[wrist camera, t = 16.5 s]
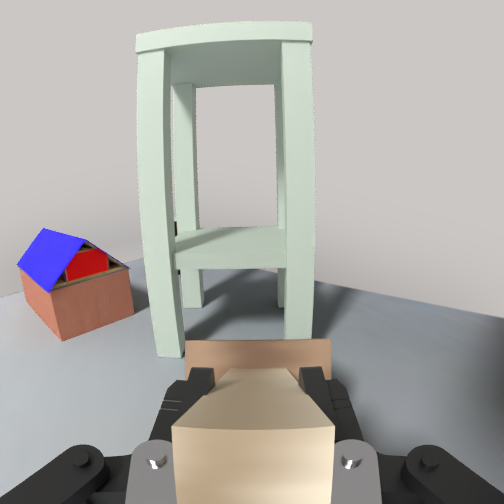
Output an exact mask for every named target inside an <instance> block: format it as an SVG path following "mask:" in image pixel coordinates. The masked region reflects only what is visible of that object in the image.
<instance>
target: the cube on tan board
mask: <svg viewBox="0 0 504 504" xmlns="http://www.w3.org/2000/svg"><path fill="white" fill-rule="evenodd" d="M315 366H321V367H322V370H323V373H324V377H325V380H331V339H282V340H185V381H187V380H188V377H189V373H190V370H191V368H192V367H207V368H213V369H214V375H215V386H214V388H213V389H212V390H211V391H210V392H209V393H208V394H207V395H203V396H202V397H201V398H200V399H199V400H198V401H197V402H196V403H195V404H194V405H193V406H192V407H191V408H190V409H189V410H188V411H187V412H186V413H185V414H184V415H183V416H182V417H181V418H179V419H178V420H177V421H176V422H175V423H174V424H173V425H172V426H171V427H172V446H173V461H174V475H175V486H176V497H177V504H330V503H331V491H332V477H333V460H334V439H335V425H334V424H333V423H332V422H331V421H330V420H329V418H328V417H327V416H326V415H325V414H324V413H323V411H322V410H321V409H320V408H319V407H318V406H317V404H316V403H315V402H314V401H313V400H312V398H311V397H310V396H309V395H306V394H305V393H304V391H303V390H302V389H301V388H300V387H299V385H298V379H299V369H300V367H315Z"/></svg>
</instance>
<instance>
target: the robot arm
mask: <svg viewBox="0 0 504 504" xmlns="http://www.w3.org/2000/svg"><path fill="white" fill-rule="evenodd" d="M298 385H299V387H300V388H301V389H302V390H303V391H304V393H305V394H306V395H309V396H310V397H311V398H312V400H313V401H314V402H315V403H316V404H317V406H318V407H319V408H320V409H321V410H322V411H323V413H324V414H325V415H326V416H327V417H328V418H329V420H330V421H331V422H332V423H333V424H334V425H335V439H334V460H333V477H332V491H331V503H330V504H504V494H503V493H502V492H501V491H499V490H498V489H496V488H495V487H494V486H492V485H491V484H489V483H488V482H487V481H485V480H484V479H483V478H481V477H480V476H479V475H477V474H476V473H475V472H473V471H472V470H470V469H469V468H468V467H466V466H465V465H464V464H462V463H461V462H460V461H458V460H457V459H456V458H454V457H453V456H452V455H451V454H449V453H448V452H447V451H445V450H444V449H442V448H440V447H438V446H434V445H422V446H418V447H416V448H414V449H413V450H412V451H410V453H409V454H408V456H407V457H406V456H390V455H383V454H380V453H377V452H376V451H375V450H374V448H373V447H372V446H371V445H369V444H368V443H366V442H364V439H363V437H362V434H361V431H360V428H359V425H358V422H357V419H356V416H355V413H354V410H353V409H352V405H351V402H350V400H349V396H348V393H347V390H346V388H345V387H344V386H343V385H342V384H341V383H340V382H339V381H338V380H337V379H332V380H325V377H324V373H323V370H322V367H321V366H315V367H300V369H299V379H298ZM214 386H215V375H214V369H213V368H207V367H192V368H191V370H190V373H189V377H188V380H187V381H183V380H176V381H175V382H174V383H173V384H172V385H171V386H170V387H169V388H168V389H167V392H166V394H165V397H164V401H163V402H162V405H161V410H159V413H158V416H157V419H156V421H155V424H154V427H153V430H152V432H151V435H150V438H149V440H148V441H146V442H144V443H142V444H140V445H139V446H137V447H136V448H135V450H134V451H133V453H132V454H130V455H125V456H113V457H104V456H103V454H102V453H101V452H100V450H98V449H97V448H95V447H93V446H90V445H76V446H73V447H71V448H69V449H67V450H66V451H64V452H63V453H62V454H60V455H59V456H58V457H56V458H55V459H54V460H52V461H51V462H49V463H48V464H47V465H45V466H44V467H43V468H41V469H40V470H38V471H37V472H36V473H34V474H33V475H32V476H30V477H29V478H27V479H26V480H25V481H23V482H22V483H20V484H19V485H17V486H16V487H15V488H13V489H12V490H10V491H9V492H7V493H6V494H5V495H3V496H2V497H0V504H177V497H176V486H175V475H174V461H173V446H172V427H171V426H172V425H173V424H174V423H175V422H176V421H177V420H178V419H179V418H181V417H182V416H183V415H184V414H185V413H186V412H187V411H188V410H189V409H190V408H191V407H192V406H193V405H194V404H195V403H196V402H197V401H198V400H199V399H200V398H201V397H202V396H203V395H207V394H208V393H209V392H210V391H211V390H212V389H213V388H214Z"/></svg>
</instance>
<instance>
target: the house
mask: <svg viewBox="0 0 504 504" xmlns="http://www.w3.org/2000/svg"><path fill="white" fill-rule="evenodd" d="M17 265H18V267H19V268H20V273H21V278H22V283H23V287H24V292H25V297H26V301H27V302H28V304H29V305H30V306H31V307H32V308H33V310H34V311H35V312H36V313H37V314H38V315H39V317H40V318H41V319H42V320H43V321H44V322H45V323H46V325H47V326H48V327H49V328H50V329H51V330H52V331H53V332H54V334H55V335H56V336H57V337H58V338H59V339H60V340H61V341H65V340H68V339H70V338H73V337H76V336H78V335H81V334H84V333H86V332H89V331H92V330H94V329H97V328H100V327H102V326H105V325H108V324H110V323H113V322H116V321H118V320H121V319H124V318H126V317H129V316H132V315H134V307H133V301H132V294H131V287H130V280H129V272H128V270H129V269H128V268H129V267H127V266H126V265H124V264H123V263H121V262H119V261H118V260H116V259H114V258H113V257H111V256H110V255H108V254H107V253H106V252H104V251H102V250H101V249H99V248H98V247H96V246H95V245H93V244H92V243H90V242H89V241H87V240H85V239H82V238H78V237H74V236H71V235H67V234H63V233H59V232H56V231H52V230H48V229H45V228H43V229H42V230H41V232H40V233H39V234H38V236H37V237H36V238H35V240H34V241H33V242H32V244H31V245H30V247H29V248H28V250H27V251H26V252H25V254H24V255H23V256H22V258H21V259H20V261H19V262H18V264H17ZM130 269H131V268H130Z"/></svg>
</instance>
